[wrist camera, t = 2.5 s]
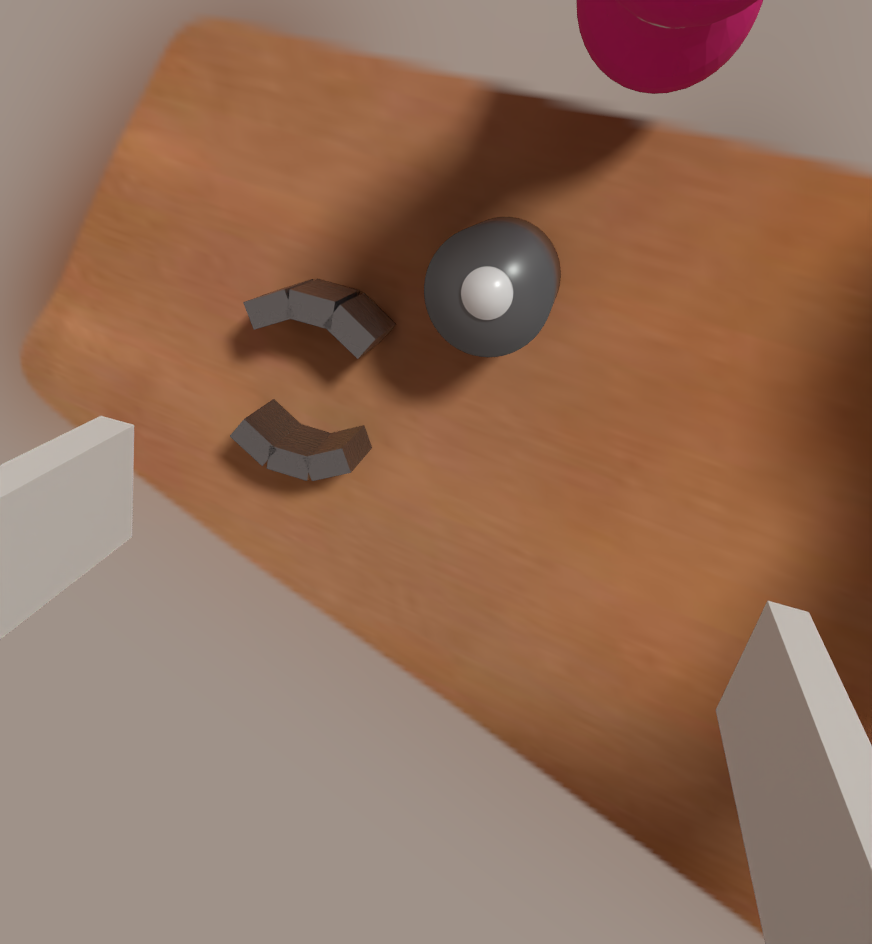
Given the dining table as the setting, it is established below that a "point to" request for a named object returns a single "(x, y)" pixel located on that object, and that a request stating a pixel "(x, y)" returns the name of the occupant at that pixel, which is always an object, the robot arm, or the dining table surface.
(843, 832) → the robot arm
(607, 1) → the pepper mill
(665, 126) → the dining table surface
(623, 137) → the dining table surface
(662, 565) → the dining table surface
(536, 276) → the cap
